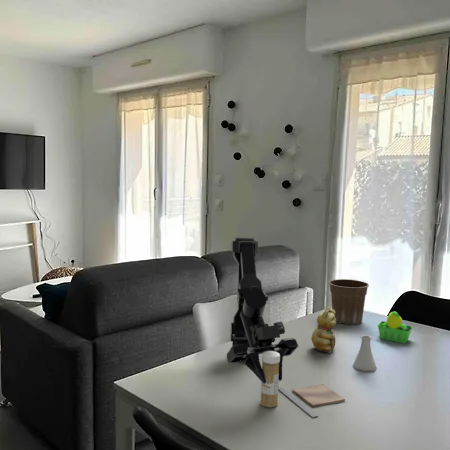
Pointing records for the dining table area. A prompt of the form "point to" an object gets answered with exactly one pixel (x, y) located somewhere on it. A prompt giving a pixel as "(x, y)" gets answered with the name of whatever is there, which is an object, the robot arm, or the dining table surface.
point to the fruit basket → (394, 329)
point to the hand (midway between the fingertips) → (272, 381)
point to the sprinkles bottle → (270, 378)
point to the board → (318, 395)
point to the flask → (365, 356)
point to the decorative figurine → (325, 331)
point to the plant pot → (348, 300)
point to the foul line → (297, 402)
